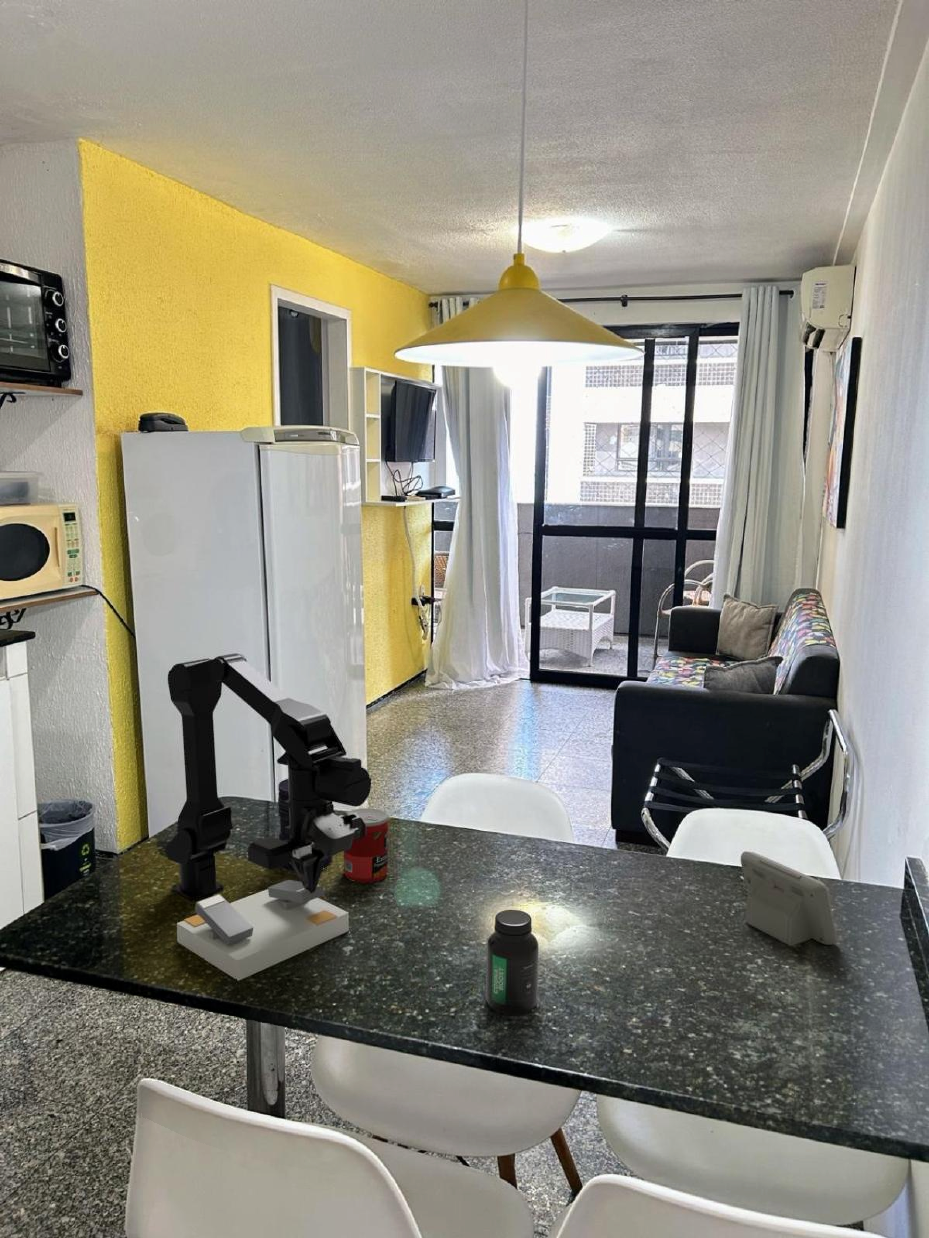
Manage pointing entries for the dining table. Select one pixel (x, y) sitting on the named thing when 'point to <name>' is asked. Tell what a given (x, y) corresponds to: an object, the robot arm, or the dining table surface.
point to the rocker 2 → (294, 891)
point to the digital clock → (786, 902)
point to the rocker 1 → (224, 919)
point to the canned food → (369, 848)
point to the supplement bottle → (512, 964)
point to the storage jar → (288, 820)
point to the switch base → (265, 933)
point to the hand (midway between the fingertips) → (310, 892)
